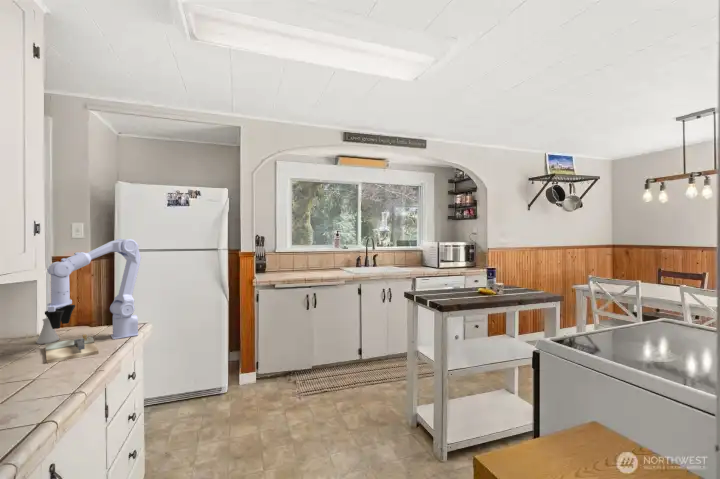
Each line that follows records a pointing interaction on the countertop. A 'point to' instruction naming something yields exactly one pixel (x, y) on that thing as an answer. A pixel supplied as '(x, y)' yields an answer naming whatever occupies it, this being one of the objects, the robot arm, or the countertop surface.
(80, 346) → the latch bar
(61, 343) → the lock board
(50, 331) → the flask
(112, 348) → the countertop surface
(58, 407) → the countertop surface
